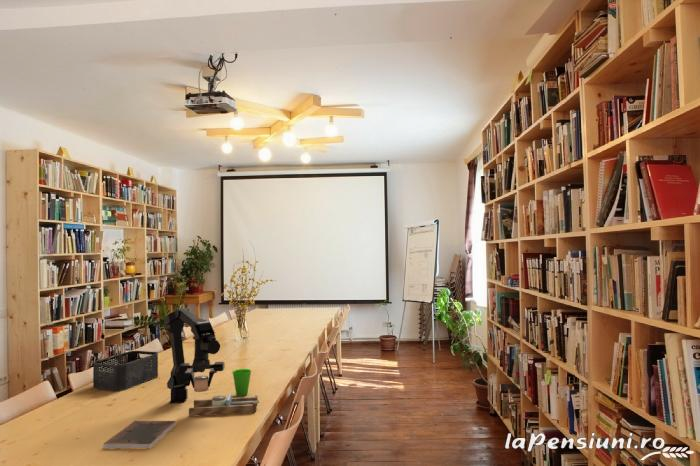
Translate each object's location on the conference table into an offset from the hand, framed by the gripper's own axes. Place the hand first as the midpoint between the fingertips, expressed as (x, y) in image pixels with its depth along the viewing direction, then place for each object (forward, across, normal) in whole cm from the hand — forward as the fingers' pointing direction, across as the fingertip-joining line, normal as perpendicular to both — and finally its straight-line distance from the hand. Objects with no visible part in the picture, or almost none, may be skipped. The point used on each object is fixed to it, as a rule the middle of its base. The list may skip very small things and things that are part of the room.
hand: (201, 387), depth 193 cm
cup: (+10, +15, +20) cm, 27 cm away
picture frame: (+11, -17, -24) cm, 31 cm away
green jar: (+10, +7, 0) cm, 12 cm away
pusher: (+10, +18, 0) cm, 20 cm away
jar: (+1, 0, 0) cm, 1 cm away
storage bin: (+11, -47, +52) cm, 71 cm away
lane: (+10, +10, 0) cm, 14 cm away
